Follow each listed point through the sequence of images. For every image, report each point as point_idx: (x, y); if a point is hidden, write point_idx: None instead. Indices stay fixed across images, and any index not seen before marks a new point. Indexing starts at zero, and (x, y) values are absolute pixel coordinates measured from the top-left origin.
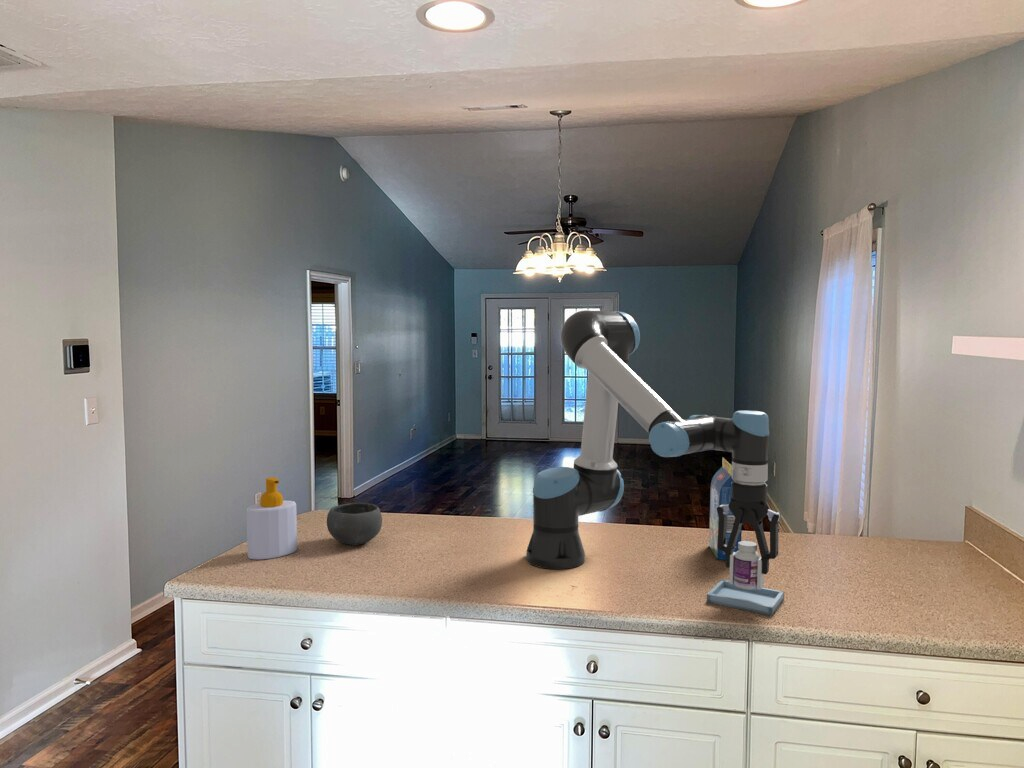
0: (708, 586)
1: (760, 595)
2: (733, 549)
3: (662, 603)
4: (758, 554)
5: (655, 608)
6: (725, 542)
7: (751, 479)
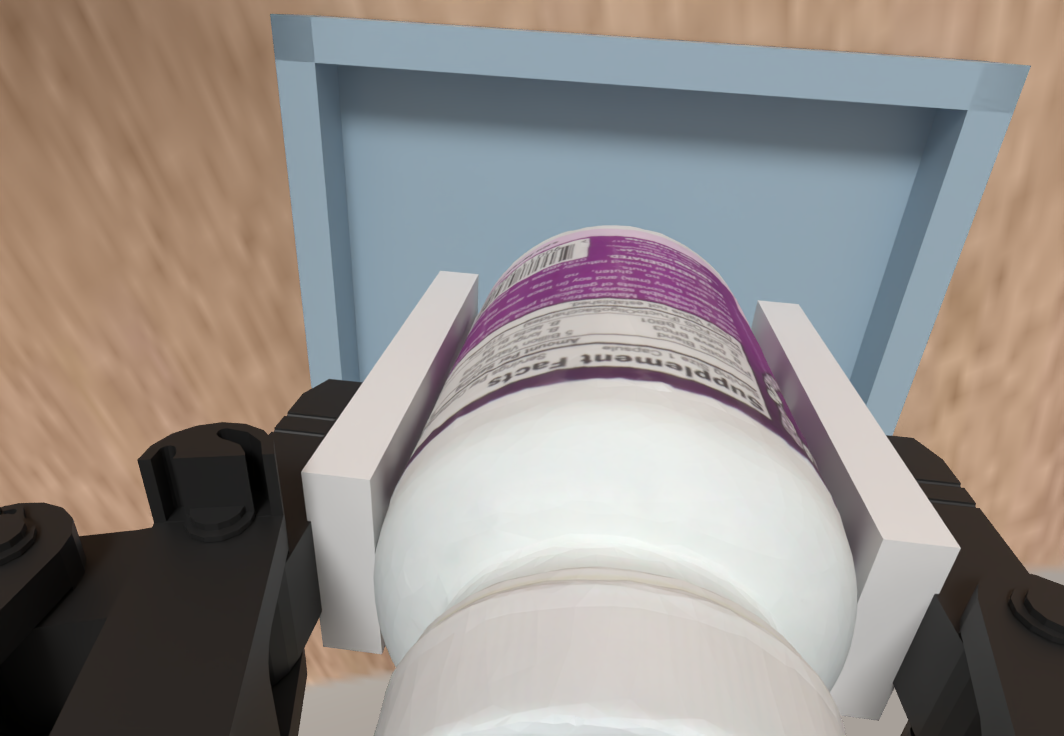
0: (197, 69)
1: (733, 155)
2: (283, 547)
3: None
4: (844, 637)
5: None
6: (8, 639)
7: None
